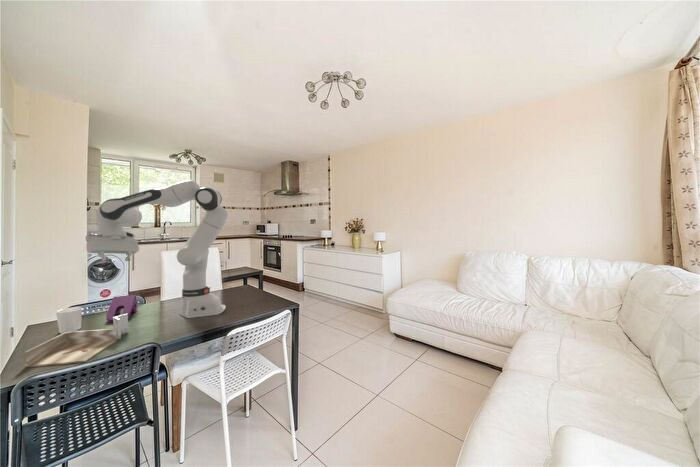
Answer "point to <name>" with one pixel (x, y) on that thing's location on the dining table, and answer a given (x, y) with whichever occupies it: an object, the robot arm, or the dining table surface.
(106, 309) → the pliers
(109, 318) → the mounting bracket
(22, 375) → the dining table surface
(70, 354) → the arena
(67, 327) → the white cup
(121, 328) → the angle bracket
